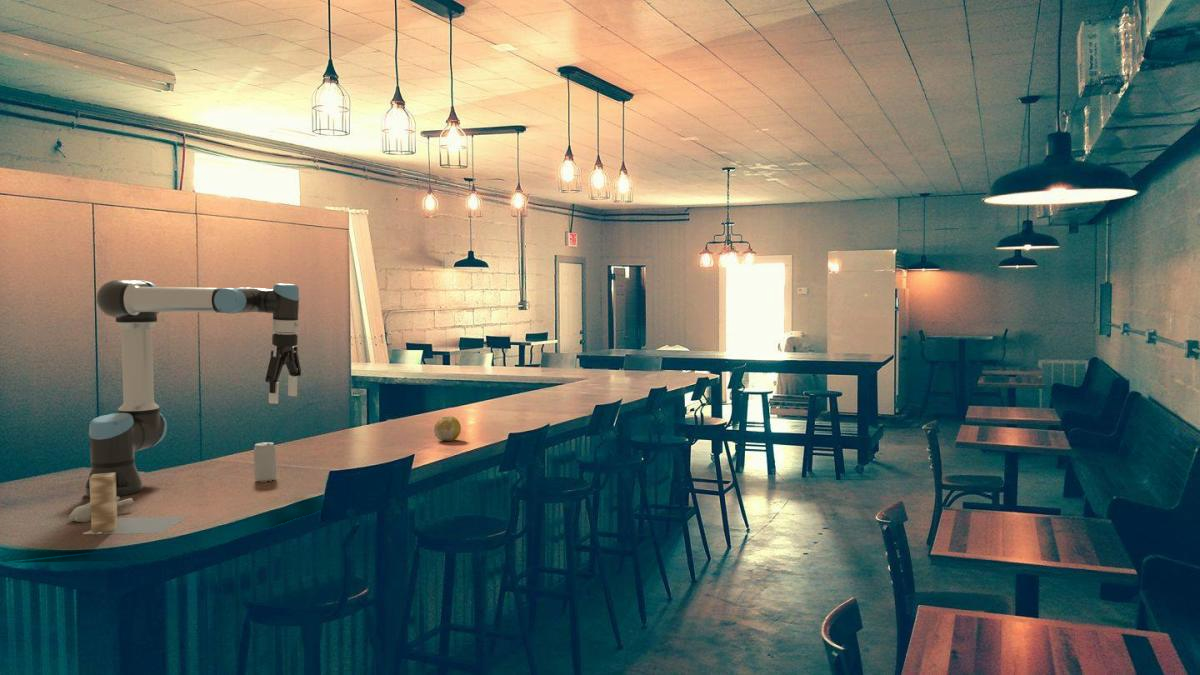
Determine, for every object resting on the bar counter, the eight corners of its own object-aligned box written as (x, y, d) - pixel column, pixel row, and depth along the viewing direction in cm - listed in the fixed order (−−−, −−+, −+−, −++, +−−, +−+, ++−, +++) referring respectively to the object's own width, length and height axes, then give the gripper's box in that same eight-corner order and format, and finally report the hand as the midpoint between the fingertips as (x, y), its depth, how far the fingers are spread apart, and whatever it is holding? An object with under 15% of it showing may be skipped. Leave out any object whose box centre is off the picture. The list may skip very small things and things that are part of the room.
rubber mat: (79, 535, 211) (79, 534, 211) (112, 519, 226) (112, 518, 226) (160, 534, 211) (160, 532, 211) (188, 518, 226) (188, 516, 226)
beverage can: (268, 483, 267) (267, 445, 267) (250, 482, 269) (249, 445, 268) (280, 478, 274) (279, 442, 273) (262, 477, 275) (261, 441, 274)
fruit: (438, 438, 345) (438, 414, 344) (464, 439, 343) (463, 414, 343) (430, 443, 335) (429, 418, 334) (456, 443, 333) (456, 418, 333)
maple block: (91, 533, 211) (89, 478, 211) (95, 528, 216) (92, 474, 215) (114, 531, 213) (112, 476, 212) (117, 525, 218) (115, 472, 217)
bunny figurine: (60, 508, 223) (112, 489, 237) (63, 526, 224) (115, 506, 237) (84, 511, 219) (135, 491, 233) (87, 530, 220) (138, 509, 234)
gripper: (279, 337, 252) (276, 407, 254) (312, 330, 277) (310, 393, 279) (254, 335, 253) (252, 405, 255) (290, 328, 277) (288, 392, 280)
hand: (283, 399), depth 267 cm, fingers open, 13 cm apart
